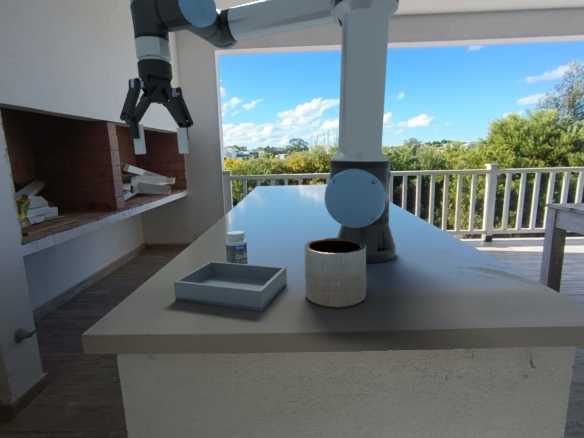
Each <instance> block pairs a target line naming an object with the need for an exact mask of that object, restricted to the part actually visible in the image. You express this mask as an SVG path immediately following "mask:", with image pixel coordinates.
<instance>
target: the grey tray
mask: <svg viewBox="0 0 584 438" xmlns="http://www.w3.org/2000/svg"><path fill="white" fill-rule="evenodd" d="M287 274H288V273H287V267H285V266H276V265H275V266H273V265H262V264H261V265H260V264H238V263H227V261H226V262H225V261H213V260H210V261H208V262H207V263H205V264H203V265H201V266H199V267H198V268H196V269H194V270H192V271H190V272H189V273H187V274H185V275H184V276H181V277H180V278H178V279H176V280H174V281H173V289H174V299H175V301H180V302H187V303H188V302H189V303H195V304H196V303H197V304H202V305H204V304H205V305H211V306H219V307H220V306H221V307H227V308H235V309H242V310H250V311H258V312H259V311H260V312H263V311H264V310H265V309H266V308H267V306H268V305H270V303H271V302H272V301H273V300H274V299H275V298H276V297H277V296H278V295H279V293H281V291H282V290H283V289H284V288H285V287H286V286H287V285H288V279H287Z"/></svg>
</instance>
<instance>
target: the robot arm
mask: <svg viewBox="0 0 584 438" xmlns="http://www.w3.org/2000/svg"><path fill="white" fill-rule="evenodd" d="M129 2H130V5H129V7H130V8H129V9H130V13H131V19H132V25H133V34H134V36H133V37H134V38H133V39H134V47H135V54H136V55H135V56H136V60H138V61H137V62H136V64H137V65H136V66H137V73H138V77H135V78H134V77H133V78H129V79H128V90H127V93H126V96H125V100H124V103H123V106H122V110H121V112H120V115H119V119H120V120H121V122H122V121H123V122H125V124H126V125H128V126H129V131H130V132H129V133H130V137H131V138H130V139H131V140H133V144H134V145H133V146H134V154H135V155H145V154H146V155H147V147H146V139H145V131H144V130H145V129H144V124H141V123H140V122H141V120H142V119H143V117H144V115H145V114H146V112H147V111H148V109H149V108H150V106H151V104H158V105H162V106H163V107H165V108H166V110H167V111H168V113H169V114H170V116H171V118H172V119H173V120H174V122H175V123H176V124H177V126H178V127H177V128H176V135H177V145H178V146H177V147H178V154H180V155H181V154H189V153H190V151H189V150H190V149H189V138H190V137H189V128H191V127H192V126H194V125H195V124H194V121H193V118H192V116H191V114H190V111H189V109H188V106H187V103H186V101H185V99H184V97H183V90H182V87H181V86H178V87H172V84H171V83H172V80H173V78H174V77H173V68H172V64H171V63H170V62H171V61H172V56H171V55H172V54H171V48H170V47H171V45H170V33H174V32H181V31H188V32H190V33H192V34H194V35H195V36H198V37H199V38H201V39H203V40H205V41H206V42H208V43H209V44H211V45H212V46H214V47H216V48H218V49H222V50H230V49H232V48H233V47H234V46H235V45H237V43H238V42H243V41H249V40H252V39H257V38H263V37H268V36H274V35H278V34H284V33H289V32H295V31H299V30H303V29H304V30H305V29H309V28H311V29H312V28H314V27H320V26H326V25H330V24H336V25H337V26H338V27H340V28H341V47H340V49H341V50H340V51H341V52H340V55H341V56H340V82H339V83H340V84H339V108H338V109H339V114H338V115H339V116H338V138H337V139H338V142H337V143H338V145H337V146H338V147H337V151H336V153H334V155H333V156H332V157H330V160H329V161H330V165H329V181H328V182H327V185H326V187H325V191H324V204H325V208H326V210H327V213H328V214H329V216H330V217H331V218H332V219H333V220H334V221H336V222H337V223H338V224H340V227H339V231H338V234H337V236H336V238H346V239H353V240H357V241H360V242H362V243H364V244H365V245H366V264H373V263H374V264H375V263H382V262H388V261H391V260H394V258H396V256H397V255H396V254H397V252H396V251H397V250H396V249H397V246H396V243H395V239H394V236H393V233H392V229H391V226H390V195H391V193H390V192H391V191H390V190H391V188H390V187H391V177H392V172H391V166H390V163H389V162H390V159H389V158H388V157H387V156H386V155H385V153H384V152H383V150H382V149H383V148H382V147H383V132H384V115H385V111H384V110H385V98H386V97H385V95H386V77H387V64H388V63H387V61H388V43H389V27H390V26H389V25H390V18H391V17H392V16H393V15H394V14H395V13H397V11H398V9H399V4H400V0H258V1H254V2H250V3H246V4H240V5H237V6H232V7H228V8H224V9H217V5H216V2H215V0H130V1H129ZM141 91H142V92H143V93H142V94H141V96H140V93H141ZM138 100H139V101H138Z"/></svg>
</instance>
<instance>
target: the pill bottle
mask: <svg viewBox="0 0 584 438" xmlns="http://www.w3.org/2000/svg"><path fill="white" fill-rule="evenodd" d="M245 237H246V235H245V231H243V230H231V231H227V232H226V239H227V240H226V242H225V254H226V263H238V264H248V248H247V244H248V243H247V240H246V239H245Z"/></svg>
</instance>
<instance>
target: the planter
mask: <svg viewBox="0 0 584 438" xmlns="http://www.w3.org/2000/svg"><path fill="white" fill-rule="evenodd" d="M304 291H305V292H304V294H305V297H306V298H307V299H308V300H309V301H310V302H312V303H313V304H315V305H318V306H321V307H326V308H332V309H340V308H349V307H353V306H355V305H358V304H359V303H361V302H362V301H364V299H366V296H367V263H366V245H365V244H364V243H362V242H360V241H357V240H353V239H346V238H337V237H327V238H318V239H313V240H310V241H308V242H306V243H305V244H304Z"/></svg>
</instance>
